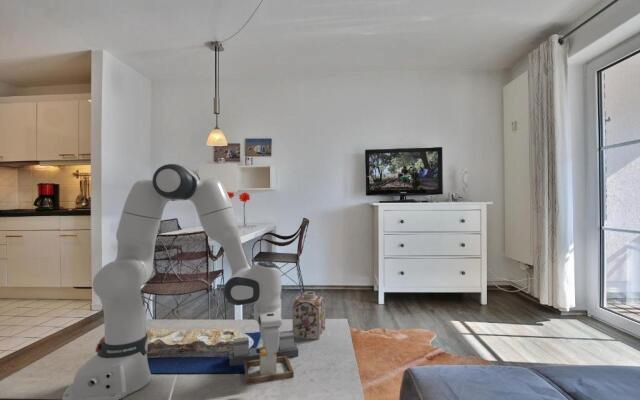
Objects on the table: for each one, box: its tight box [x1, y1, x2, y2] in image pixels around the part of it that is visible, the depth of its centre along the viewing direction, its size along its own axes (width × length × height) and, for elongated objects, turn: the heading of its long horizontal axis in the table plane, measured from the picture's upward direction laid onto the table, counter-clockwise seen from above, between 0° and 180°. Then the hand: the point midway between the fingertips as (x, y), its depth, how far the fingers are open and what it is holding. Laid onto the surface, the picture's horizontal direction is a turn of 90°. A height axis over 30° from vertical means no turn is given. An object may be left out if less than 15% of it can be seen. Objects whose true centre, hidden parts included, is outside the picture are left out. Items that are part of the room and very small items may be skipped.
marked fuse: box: [259, 349, 277, 376], centre depth 105 cm, size 5×3×7 cm, turn 107°
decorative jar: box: [292, 291, 326, 340], centre depth 136 cm, size 12×12×18 cm
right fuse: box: [279, 331, 295, 350], centre depth 116 cm, size 5×3×7 cm, turn 107°
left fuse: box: [233, 337, 250, 357], centre depth 112 cm, size 5×3×7 cm, turn 107°
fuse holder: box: [229, 342, 299, 367], centre depth 114 cm, size 24×6×4 cm, turn 107°
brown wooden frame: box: [243, 356, 295, 385], centre depth 105 cm, size 15×12×2 cm
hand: (267, 355), depth 105 cm, fingers open, 8 cm apart
